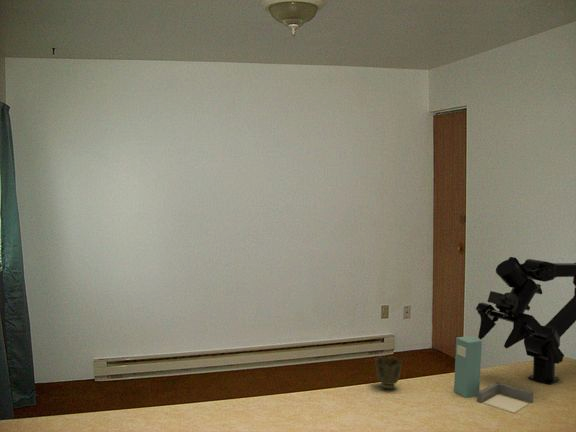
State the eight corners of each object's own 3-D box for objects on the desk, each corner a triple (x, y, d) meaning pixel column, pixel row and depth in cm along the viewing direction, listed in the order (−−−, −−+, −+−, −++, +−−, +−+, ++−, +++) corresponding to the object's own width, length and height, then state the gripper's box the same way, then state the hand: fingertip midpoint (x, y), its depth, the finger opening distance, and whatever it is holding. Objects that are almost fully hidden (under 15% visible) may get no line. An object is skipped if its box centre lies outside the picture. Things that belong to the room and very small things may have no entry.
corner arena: (496, 391, 147) (496, 382, 147) (533, 401, 140) (533, 392, 140) (476, 401, 140) (477, 392, 140) (514, 413, 133) (514, 403, 133)
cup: (400, 383, 152) (400, 356, 152) (402, 393, 145) (403, 364, 144) (373, 382, 153) (373, 355, 152) (375, 392, 145) (375, 363, 145)
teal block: (467, 388, 148) (469, 335, 147) (479, 395, 144) (481, 340, 143) (453, 391, 147) (455, 337, 145) (465, 398, 142) (467, 342, 141)
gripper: (479, 275, 157) (451, 318, 153) (532, 286, 140) (502, 335, 136) (499, 297, 161) (473, 340, 157) (554, 310, 144) (525, 358, 140)
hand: (491, 342), depth 147 cm, fingers open, 9 cm apart
